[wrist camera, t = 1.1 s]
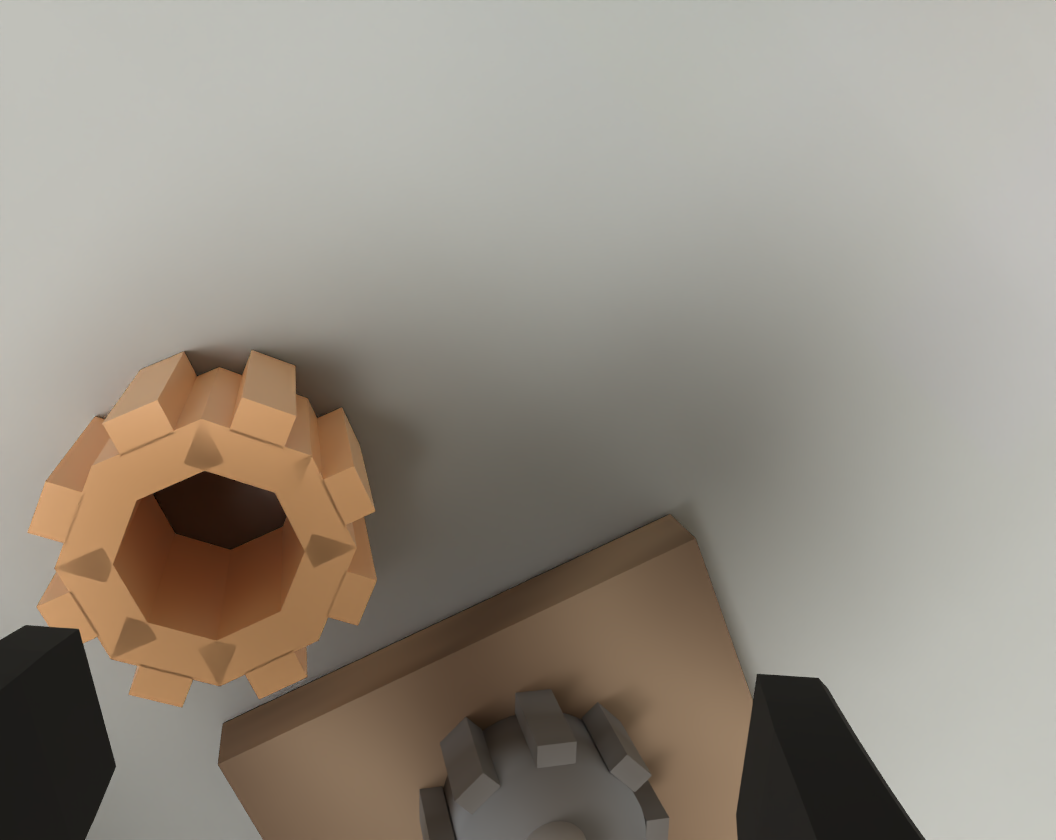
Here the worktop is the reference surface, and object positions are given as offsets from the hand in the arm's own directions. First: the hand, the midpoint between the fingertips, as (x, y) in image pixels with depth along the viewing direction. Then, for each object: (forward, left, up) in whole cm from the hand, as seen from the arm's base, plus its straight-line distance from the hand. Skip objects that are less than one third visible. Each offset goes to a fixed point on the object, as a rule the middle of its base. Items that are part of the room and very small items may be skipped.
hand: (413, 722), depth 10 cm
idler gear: (-3, 0, -10) cm, 11 cm away
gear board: (0, -15, -10) cm, 18 cm away
